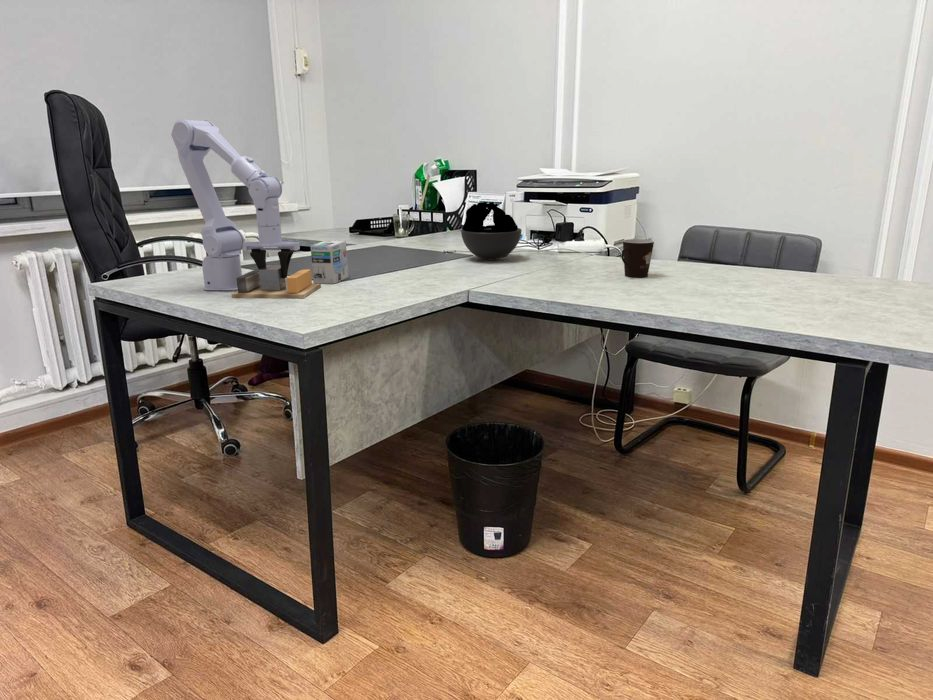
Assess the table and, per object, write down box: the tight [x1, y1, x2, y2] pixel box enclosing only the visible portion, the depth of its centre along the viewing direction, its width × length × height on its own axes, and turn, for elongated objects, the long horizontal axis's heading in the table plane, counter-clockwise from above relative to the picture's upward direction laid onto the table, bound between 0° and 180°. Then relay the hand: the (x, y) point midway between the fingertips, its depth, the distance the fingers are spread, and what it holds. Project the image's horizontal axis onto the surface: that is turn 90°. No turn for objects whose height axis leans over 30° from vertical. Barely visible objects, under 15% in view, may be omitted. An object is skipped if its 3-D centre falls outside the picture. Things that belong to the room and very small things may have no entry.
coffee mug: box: [620, 238, 655, 279], centre depth 187 cm, size 12×9×10 cm
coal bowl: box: [460, 201, 522, 261], centre depth 217 cm, size 20×20×19 cm
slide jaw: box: [285, 269, 313, 293], centre depth 172 cm, size 3×12×4 cm, turn 175°
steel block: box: [259, 264, 288, 291], centre depth 172 cm, size 5×6×6 cm
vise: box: [230, 268, 322, 299], centre depth 173 cm, size 19×14×5 cm
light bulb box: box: [310, 240, 349, 285], centre depth 187 cm, size 11×7×11 cm, turn 168°
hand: (274, 277), depth 173 cm, fingers closed on steel block, 5 cm apart
